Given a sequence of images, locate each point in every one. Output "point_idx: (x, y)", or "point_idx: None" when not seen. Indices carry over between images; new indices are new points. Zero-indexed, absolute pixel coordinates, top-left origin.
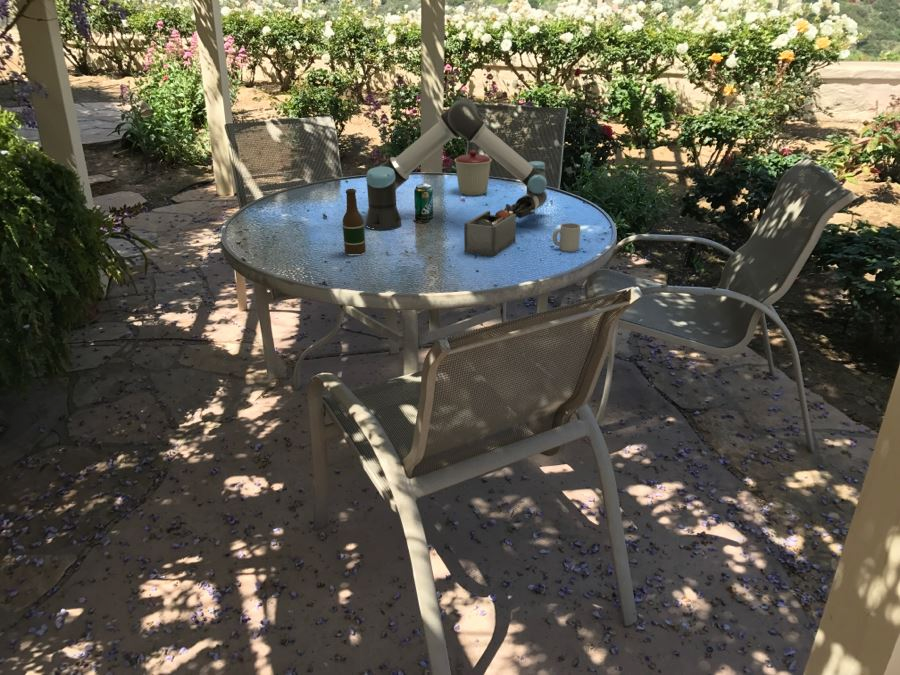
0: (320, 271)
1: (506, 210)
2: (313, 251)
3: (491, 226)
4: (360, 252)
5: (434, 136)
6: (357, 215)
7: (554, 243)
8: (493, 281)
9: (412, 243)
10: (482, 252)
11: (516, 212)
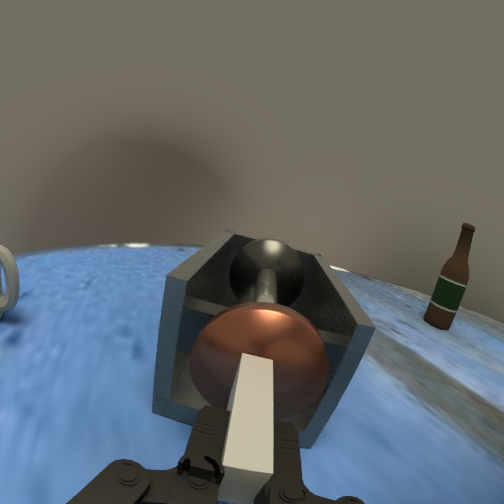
0: (399, 293)
1: (254, 311)
2: (465, 323)
3: (237, 234)
4: (425, 314)
5: None
6: (449, 259)
7: (16, 301)
8: (186, 255)
9: (433, 361)
10: None
11: (175, 482)
